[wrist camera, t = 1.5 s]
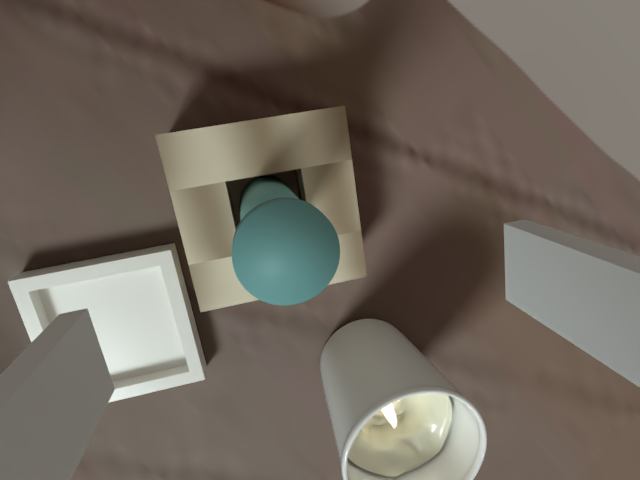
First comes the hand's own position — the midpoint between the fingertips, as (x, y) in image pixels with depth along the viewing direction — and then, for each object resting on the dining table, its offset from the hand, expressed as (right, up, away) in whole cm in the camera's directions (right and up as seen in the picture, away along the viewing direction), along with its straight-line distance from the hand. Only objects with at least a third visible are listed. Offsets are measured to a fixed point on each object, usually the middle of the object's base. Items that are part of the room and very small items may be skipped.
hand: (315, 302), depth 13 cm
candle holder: (+4, -9, +25) cm, 27 cm away
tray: (-16, -5, +20) cm, 26 cm away
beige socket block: (-4, +5, +20) cm, 21 cm away
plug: (-4, +5, +19) cm, 20 cm away
